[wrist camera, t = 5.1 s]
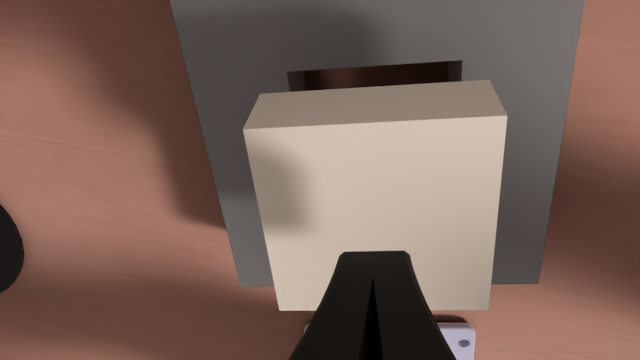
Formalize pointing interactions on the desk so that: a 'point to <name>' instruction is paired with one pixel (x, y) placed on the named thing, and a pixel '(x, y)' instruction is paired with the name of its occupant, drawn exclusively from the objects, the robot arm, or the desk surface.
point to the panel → (376, 50)
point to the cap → (380, 185)
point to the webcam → (9, 251)
